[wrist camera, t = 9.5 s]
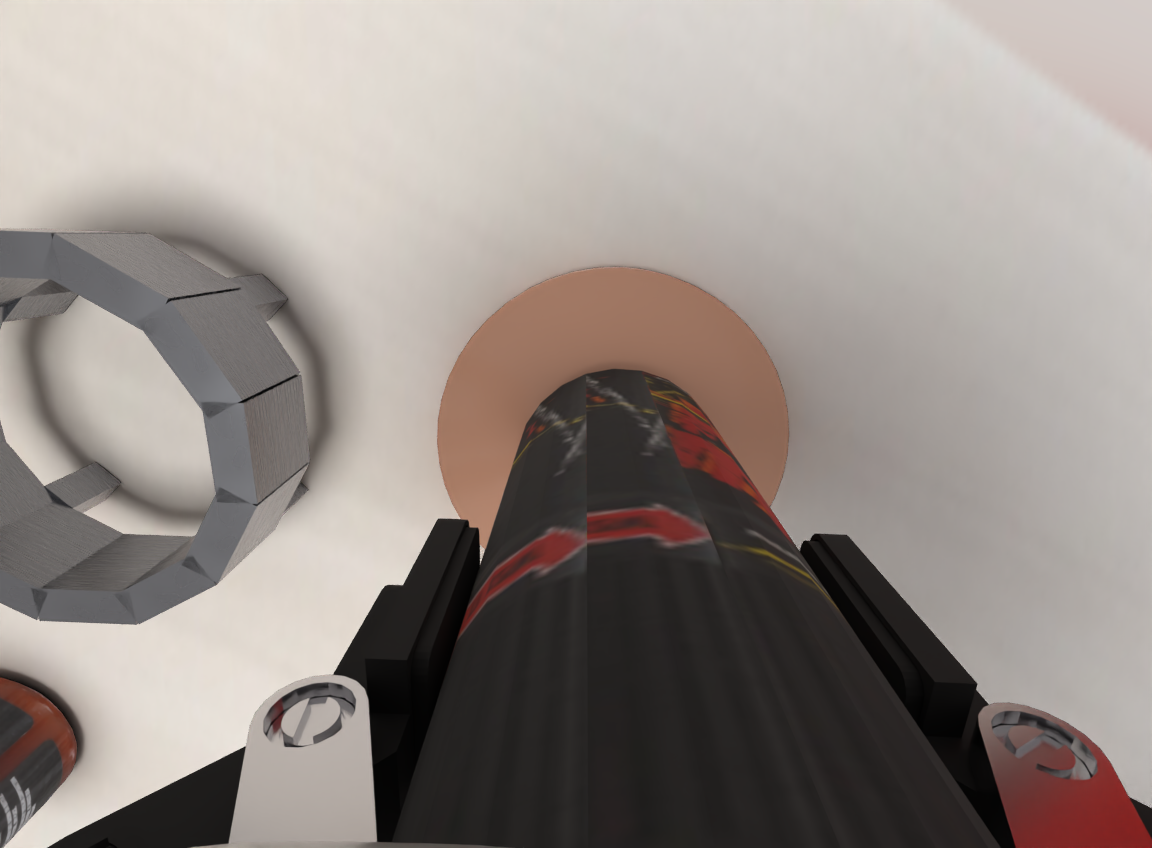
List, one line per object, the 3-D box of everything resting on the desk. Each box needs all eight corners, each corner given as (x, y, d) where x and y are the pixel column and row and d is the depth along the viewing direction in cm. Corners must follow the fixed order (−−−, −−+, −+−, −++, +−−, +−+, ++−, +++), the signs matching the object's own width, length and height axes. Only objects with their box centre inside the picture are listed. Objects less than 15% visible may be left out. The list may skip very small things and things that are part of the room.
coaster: (805, 274, 18) (814, 275, 17) (757, 592, 21) (764, 606, 20) (436, 259, 18) (430, 260, 17) (447, 580, 21) (442, 593, 20)
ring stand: (318, 237, 18) (220, 238, 13) (345, 539, 21) (274, 629, 16) (-18, 225, 18) (-240, 221, 13) (58, 527, 21) (-99, 615, 16)
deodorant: (486, 406, 17) (-53, 1329, 3) (689, 340, 16) (1444, 1092, 2) (554, 579, 19) (450, 1729, 4) (741, 526, 18) (1356, 1674, 4)
